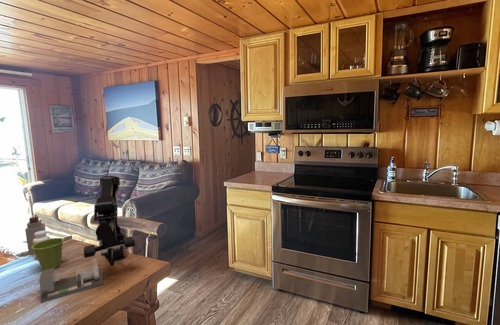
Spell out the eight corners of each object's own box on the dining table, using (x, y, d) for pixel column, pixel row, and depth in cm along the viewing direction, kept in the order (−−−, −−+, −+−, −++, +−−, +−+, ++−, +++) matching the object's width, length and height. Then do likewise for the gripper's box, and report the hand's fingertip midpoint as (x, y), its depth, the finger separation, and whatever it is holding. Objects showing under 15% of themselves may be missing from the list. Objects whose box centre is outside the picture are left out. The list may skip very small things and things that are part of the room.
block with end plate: (98, 270, 119) (96, 258, 118) (99, 280, 111) (98, 267, 110) (77, 275, 115) (75, 263, 114) (77, 287, 107) (75, 273, 106)
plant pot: (61, 258, 135) (58, 235, 134) (71, 265, 128) (67, 241, 126) (31, 268, 126) (28, 244, 125) (39, 276, 119) (35, 251, 117)
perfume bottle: (29, 255, 140) (23, 220, 137) (32, 250, 145) (27, 217, 143) (45, 252, 143) (40, 218, 140) (47, 247, 149) (43, 214, 146)
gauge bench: (101, 271, 121) (99, 255, 120) (103, 284, 110) (101, 267, 110) (44, 287, 111) (41, 269, 110) (40, 302, 100) (38, 284, 99)
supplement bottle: (35, 257, 138) (31, 232, 136) (52, 253, 142) (48, 228, 140) (35, 262, 132) (31, 236, 131) (52, 257, 136) (48, 232, 135)
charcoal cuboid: (80, 283, 108) (79, 278, 108) (80, 286, 107) (79, 280, 106) (77, 284, 108) (76, 278, 108) (77, 287, 106) (76, 281, 106)
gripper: (129, 220, 128) (132, 252, 130) (81, 229, 118) (86, 264, 120) (133, 227, 118) (136, 262, 120) (81, 238, 109) (86, 275, 111)
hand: (112, 265), depth 118 cm, fingers closed
